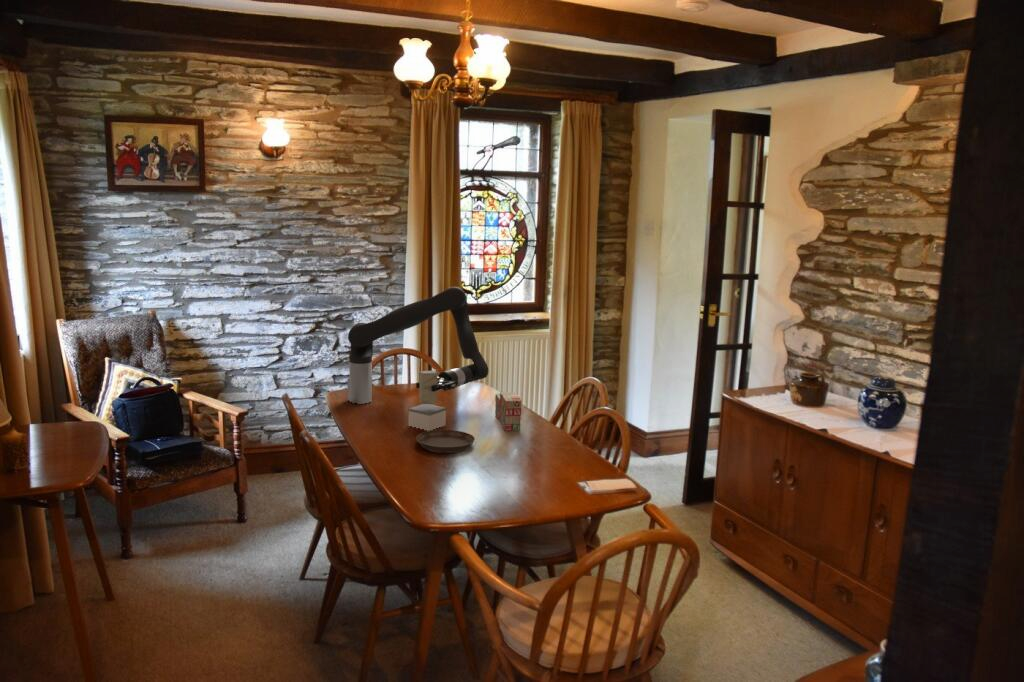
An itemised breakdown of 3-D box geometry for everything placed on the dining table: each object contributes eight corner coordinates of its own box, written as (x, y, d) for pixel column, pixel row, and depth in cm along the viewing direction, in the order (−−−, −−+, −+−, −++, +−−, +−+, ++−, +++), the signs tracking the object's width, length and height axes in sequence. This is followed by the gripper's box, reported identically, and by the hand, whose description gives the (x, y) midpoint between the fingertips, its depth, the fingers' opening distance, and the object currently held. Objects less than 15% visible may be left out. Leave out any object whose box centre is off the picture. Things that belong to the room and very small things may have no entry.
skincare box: (421, 404, 293) (421, 373, 290) (418, 401, 297) (418, 370, 294) (437, 403, 295) (438, 372, 293) (434, 400, 299) (434, 369, 297)
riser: (408, 426, 296) (408, 408, 295) (425, 420, 304) (425, 403, 303) (428, 431, 291) (429, 413, 289) (445, 425, 299) (445, 407, 298)
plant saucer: (430, 434, 288) (430, 425, 287) (482, 441, 282) (482, 433, 281) (406, 451, 269) (406, 441, 268) (461, 459, 262) (462, 450, 262)
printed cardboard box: (494, 415, 315) (495, 386, 313) (509, 415, 317) (511, 386, 314) (504, 431, 295) (505, 400, 292) (520, 431, 296) (521, 400, 294)
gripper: (437, 367, 309) (409, 374, 296) (466, 372, 302) (439, 380, 288) (437, 385, 311) (409, 393, 297) (465, 391, 303) (439, 400, 290)
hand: (424, 387), depth 293 cm, fingers closed on skincare box, 7 cm apart
